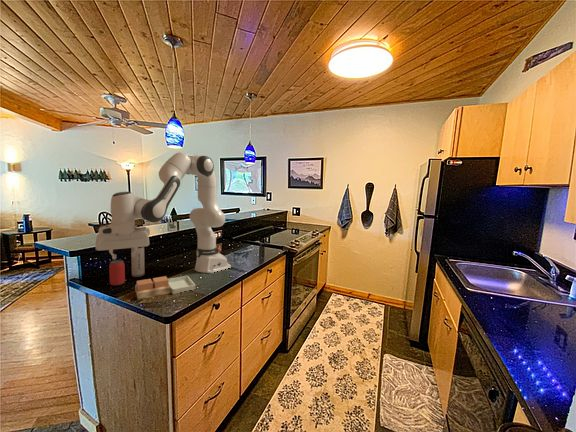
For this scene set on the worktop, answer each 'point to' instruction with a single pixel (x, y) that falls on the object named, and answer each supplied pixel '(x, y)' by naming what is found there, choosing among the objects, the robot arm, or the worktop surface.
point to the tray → (181, 284)
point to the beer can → (117, 272)
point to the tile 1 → (144, 284)
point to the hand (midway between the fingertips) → (124, 257)
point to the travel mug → (138, 262)
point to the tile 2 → (160, 282)
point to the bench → (152, 292)
